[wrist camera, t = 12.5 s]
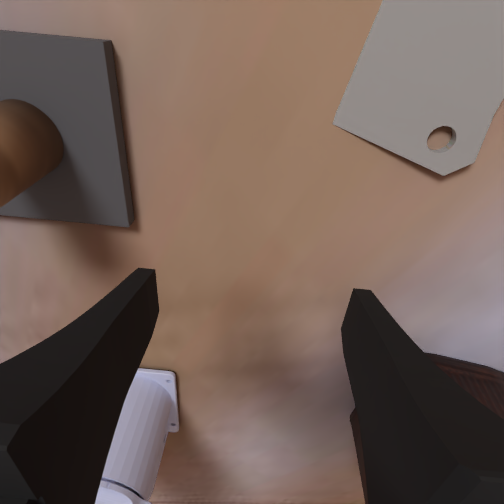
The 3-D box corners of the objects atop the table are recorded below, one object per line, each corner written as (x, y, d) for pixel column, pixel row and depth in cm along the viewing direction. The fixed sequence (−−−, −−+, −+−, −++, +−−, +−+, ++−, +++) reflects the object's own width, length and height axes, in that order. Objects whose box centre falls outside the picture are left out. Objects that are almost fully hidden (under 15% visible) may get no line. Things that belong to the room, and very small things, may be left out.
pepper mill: (451, 437, 35) (580, 751, 20) (346, 416, 34) (399, 729, 19) (568, 333, 26) (943, 749, 12) (431, 300, 25) (648, 709, 11)
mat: (134, 219, 23) (129, 227, 22) (-19, 204, 23) (-30, 212, 22) (111, 40, 17) (103, 41, 16) (-92, 21, 17) (-111, 22, 16)
